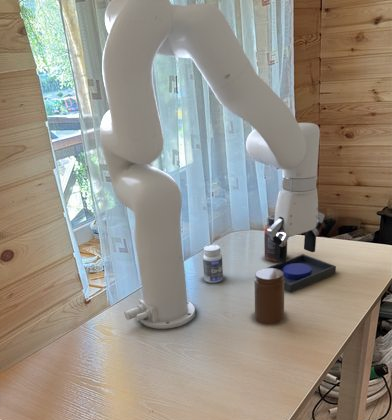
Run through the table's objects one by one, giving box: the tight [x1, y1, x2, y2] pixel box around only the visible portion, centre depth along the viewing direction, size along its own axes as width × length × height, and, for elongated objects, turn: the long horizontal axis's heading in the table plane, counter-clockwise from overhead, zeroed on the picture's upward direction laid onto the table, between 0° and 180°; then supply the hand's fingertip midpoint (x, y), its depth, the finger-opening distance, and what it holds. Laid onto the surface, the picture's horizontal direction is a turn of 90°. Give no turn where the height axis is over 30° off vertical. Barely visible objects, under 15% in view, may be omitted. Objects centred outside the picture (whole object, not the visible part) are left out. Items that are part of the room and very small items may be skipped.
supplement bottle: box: [263, 214, 288, 263], centre depth 134 cm, size 6×6×11 cm
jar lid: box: [283, 263, 312, 280], centre depth 126 cm, size 7×7×2 cm
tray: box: [264, 253, 337, 293], centre depth 127 cm, size 15×11×2 cm
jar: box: [253, 267, 286, 325], centre depth 108 cm, size 6×6×10 cm
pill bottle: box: [202, 244, 224, 284], centre depth 127 cm, size 5×5×8 cm
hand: (295, 255), depth 124 cm, fingers open, 9 cm apart
